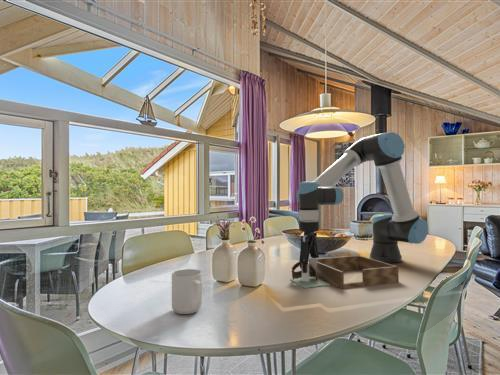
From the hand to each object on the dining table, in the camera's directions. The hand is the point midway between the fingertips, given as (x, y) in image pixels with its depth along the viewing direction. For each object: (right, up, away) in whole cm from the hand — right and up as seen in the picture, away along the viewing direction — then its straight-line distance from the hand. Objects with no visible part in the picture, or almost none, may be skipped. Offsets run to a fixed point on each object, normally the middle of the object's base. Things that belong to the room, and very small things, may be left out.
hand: (309, 277), depth 123 cm
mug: (-42, -2, -29) cm, 51 cm away
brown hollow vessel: (0, -2, +3) cm, 4 cm away
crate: (+19, -2, +7) cm, 20 cm away
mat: (0, -2, 0) cm, 2 cm away
